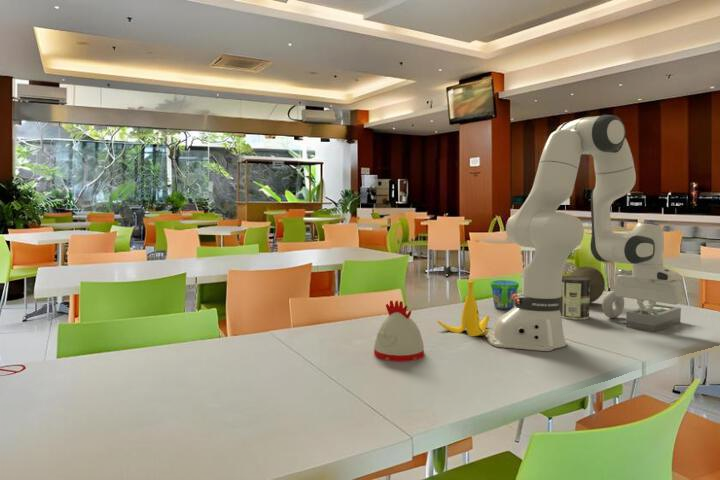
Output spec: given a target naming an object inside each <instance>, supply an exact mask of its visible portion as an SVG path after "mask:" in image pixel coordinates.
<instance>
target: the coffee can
mask: <svg viewBox="0 0 720 480" xmlns="http://www.w3.org/2000/svg"><path fill="white" fill-rule="evenodd" d="M589 295H590V278H587V277H580V276H570V275H564V276H563V275H562V289H561V296H562V297H563V313H562V319H567V320H573V321H575V320H576V321H578V320H580V321H581V320H582V321H584V320H588V319H590V303H589Z"/></svg>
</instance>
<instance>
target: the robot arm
mask: <svg viewBox="0 0 720 480" xmlns="http://www.w3.org/2000/svg"><path fill="white" fill-rule="evenodd" d="M626 135H627V131H626V127H625V123H624V122H623V121H622V119H621V118H619V117H618V116H617V115H613V114H602V115H597V116H585V117H581V118H577V119H574V120H568V121H566V122H563V123H561V124H560V125H559V126H558V127H557V128H556V130H555V131H553V132H551V133H550V135H549V136H548V138H547V140H546V142H545V144H544V147H543V149H542V153H541V156H540V159H539V162H538V167H537V170H536V174H535V177H534V180H533V184H532V188H531V190H530V192H529V194H528V196H527V197H526V199H525V201H524V202H523V204H522V205H521V206H520V208H519V209H518V211H516V212H515V213H514V214H512V215H510V217H509V218H508V219H507V221H506V224H505V234H506V236H507V238H508V239H509V241H510V242H512V243H513V244H516V245H517V246H520V247H523V248H531V249H532V248H533V249H534V255H533V257H532V259H531V261H530V262H529V263H527V264H526V265H524V267H523V269H522V278H521V279H522V281H521V294H519V295H518V294H513V295H512V299H513V301H515V305H514V308H512V309H509V310H507V312H506V313H504V314H502V315H501V316H499V318H498V319H497V321H496V324H495V327H494V331H491V332H488V334H487V338H486V339H487V342H488V343H489V344H490V345H492V346H494V347H496V348H506V349H507V348H508V349H517V350H518V349H519V350H530V351H542V352H549V351H552V350H554V349H560V348H563V347H565V346H566V345H567V341H566V338H565V333H564V327H563V318H562V313H563V297H562V296H561V289H562V277H563V272H564V269H565V265H566V262H567V259H568V257H569V255H571V253H572V252H573V251H574V250H575V249H576V248H578V247H579V245H581V243H582V241H583V239H584V236H585V229H584V225H583V223H582V221H581V219H580V218H579V217H577V216H576V215H572V214H570V213H566V212H562V211H561V212H559V211H557V210H558V208H559V207H560V206H561V205H562V204H563V203H565V202H566V201H567V200H569V199H570V197H572V194H573V193H574V192H573V191H574V189H575V183H576V179H577V175H578V171H579V167H580V163H581V156H582V155H591V157H593V165H594V166H593V167H594V168H593V169H594V174H595V185H594V188H593V189H592V192H591V195H590V215H591V216H590V219H591V238H590V244H589V246H590V251H591V255H592V256H593V258H594V259H595V260H597V261H598V262H602V263H604V262H606V263H612V262H613V263H619V264H627V265H628V264H629V265H632V269H621V268H620V269H619V270H617V271H616V272H615V275H614V280H615V282H614V283H615V284H614V287H613V290H614V294H615V295H616V296H618V297H623V298H624V299H625V298H626V299H632V300H636V303H637V305H638V308H640V313H643V314H649V315H650V314H652V308H653V307H654V306H655V304H657V303H661V304H667V305H668V304H669V305H678V304H680V303H682V301H683V288H682V283H681V282H680V281H679V279H680V273H679V272H678V271H676V270H675V271H674V270H671V269H669V268H667V267H664V259H663V254H664V251H665V237H664V230H663V227H662V226H661V225H660V224H657V223H654V222H637V223H636V224H635V227H634V228H633V229H631V230H630V231H628V232H626V233H624V232H623V233H622V232H620V233H619V232H614V231H613V230H612V228H611V225H612V224H611V223H612V222H611V206H612V204H613V203H614V202H615V201H616V200H618V199H620V198H622V197H624V196H626V195H627V194H628V193H630V192H631V191H632V189H633V188H634V186H635V185H636V180H637V179H636V178H637V175H636V168H635V164H634V157H633V154H632V152H631V147H630V145H629V142H628V140H627V138H626ZM645 301H648V305H650V306H649V308H645V307H644V306H645V305H644V303H645Z"/></svg>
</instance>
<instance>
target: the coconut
mask: <svg viewBox="0 0 720 480" xmlns="http://www.w3.org/2000/svg"><path fill="white" fill-rule="evenodd" d="M569 276H580V277H587V278H590V295H589V304H591V303H593V302H595V301H597V300H598V299H600V297H601V296H602V295H603V294H604V291H605V286H606V285H605V284H606V283H605V278H604V274H603V273H602V272H601V271H600V270H599V269H598V268H595V267H591V266H580V267H577V268H576V269H574V270H573V271H572V272H571V274H570V275H569Z"/></svg>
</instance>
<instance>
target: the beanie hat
mask: <svg viewBox="0 0 720 480" xmlns="http://www.w3.org/2000/svg"><path fill="white" fill-rule="evenodd" d="M385 307H386V310H387V312H388V316H386V317H385V319H384V320H383V322H382V323H381V325H380V326H379V329H378V332H377V334H376V338H375V341H374V348H373V349H374V350H373V351H374V352H373V353H374V356H375V357H377V359H378V358H379V359H380V360H384V361H390V362H409V361H417V360H419V359H421V358H423V357H424V356H425V355H424V354H425V348H424V341H423V337H422V334H421V331H420V329H419V327H418V325H417V323H416V322H415V321H414V319H413V318H412V317H411V315H412V310H409V311H408V312H407V309H408V305H405V306H404V304H403V301H402V300H401V301H398V300H395V302H393V300H389V304H388V303H386V304H385Z"/></svg>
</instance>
